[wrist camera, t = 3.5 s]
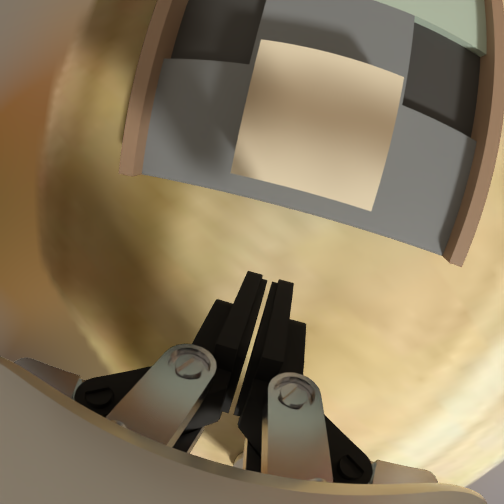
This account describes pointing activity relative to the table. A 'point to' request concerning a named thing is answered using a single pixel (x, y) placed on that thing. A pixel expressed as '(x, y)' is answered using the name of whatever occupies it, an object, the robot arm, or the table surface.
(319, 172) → the birch block
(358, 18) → the box
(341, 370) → the table surface
